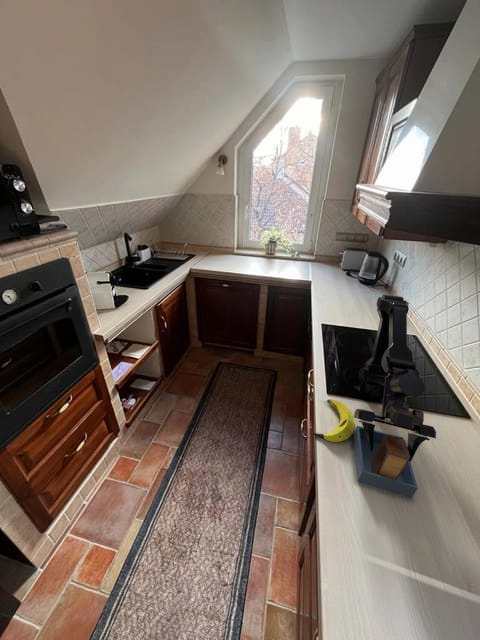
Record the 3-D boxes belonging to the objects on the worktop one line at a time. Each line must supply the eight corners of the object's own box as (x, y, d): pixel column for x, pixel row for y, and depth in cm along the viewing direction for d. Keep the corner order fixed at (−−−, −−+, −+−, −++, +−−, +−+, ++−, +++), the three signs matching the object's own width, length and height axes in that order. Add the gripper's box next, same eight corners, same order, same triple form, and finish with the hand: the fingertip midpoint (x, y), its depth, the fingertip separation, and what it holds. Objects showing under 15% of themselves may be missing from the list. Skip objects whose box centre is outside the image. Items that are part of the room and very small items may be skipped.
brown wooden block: (370, 463, 74) (384, 434, 67) (389, 468, 73) (405, 439, 66) (372, 480, 70) (388, 451, 63) (392, 486, 68) (410, 458, 62)
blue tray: (352, 435, 82) (356, 425, 80) (397, 447, 79) (403, 437, 77) (357, 482, 70) (362, 471, 67) (410, 498, 66) (418, 488, 64)
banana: (344, 393, 92) (302, 397, 93) (365, 433, 77) (316, 438, 78) (343, 402, 94) (303, 407, 95) (364, 443, 79) (316, 448, 79)
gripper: (367, 387, 66) (360, 451, 62) (449, 406, 62) (447, 476, 58) (356, 389, 77) (350, 443, 73) (426, 405, 72) (423, 464, 68)
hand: (389, 456), depth 68 cm, fingers open, 9 cm apart
